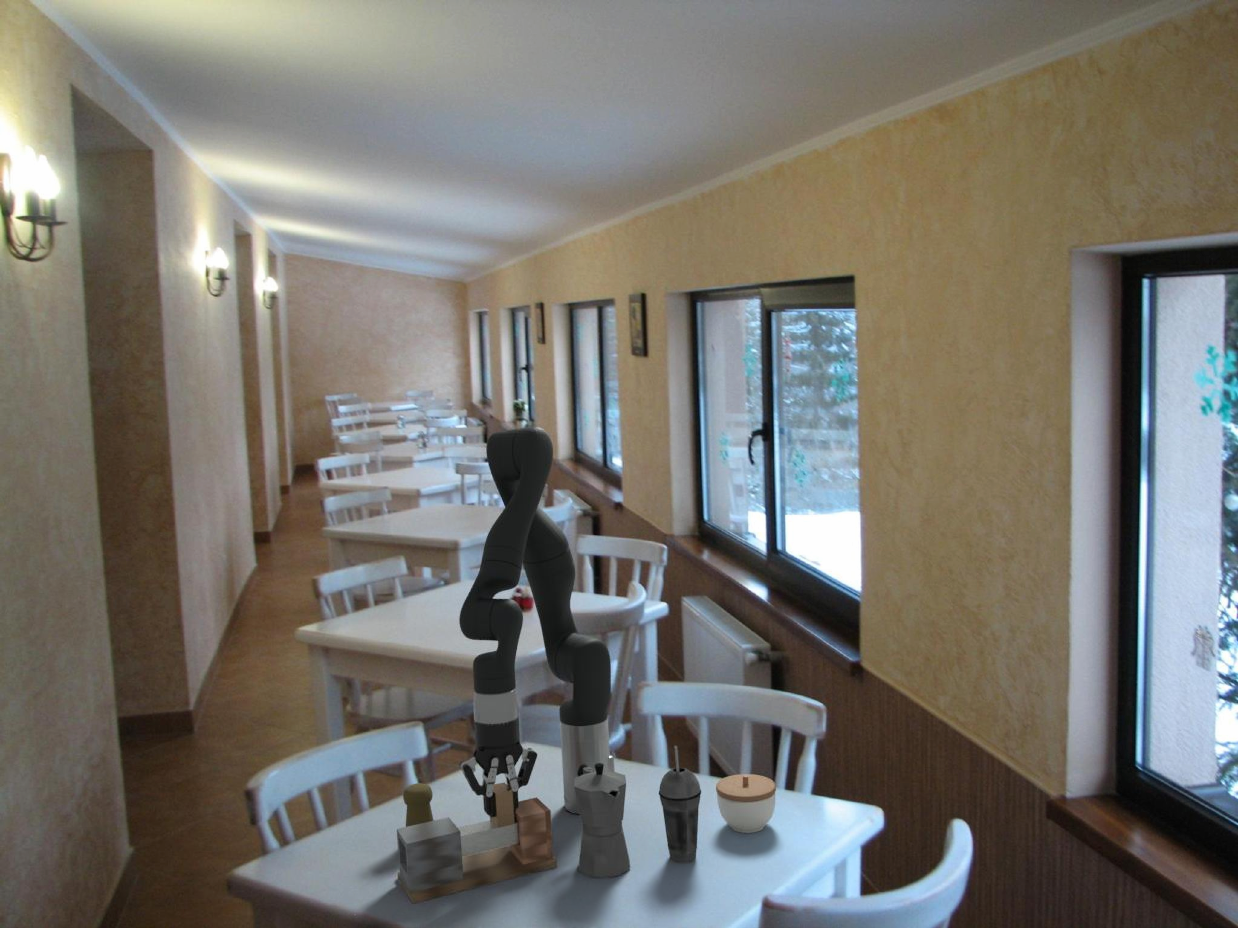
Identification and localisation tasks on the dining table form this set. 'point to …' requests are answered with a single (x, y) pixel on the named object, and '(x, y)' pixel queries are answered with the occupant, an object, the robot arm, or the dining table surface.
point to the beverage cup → (680, 812)
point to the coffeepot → (601, 821)
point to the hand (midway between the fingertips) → (501, 812)
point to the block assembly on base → (442, 870)
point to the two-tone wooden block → (493, 826)
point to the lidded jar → (746, 801)
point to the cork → (418, 804)
